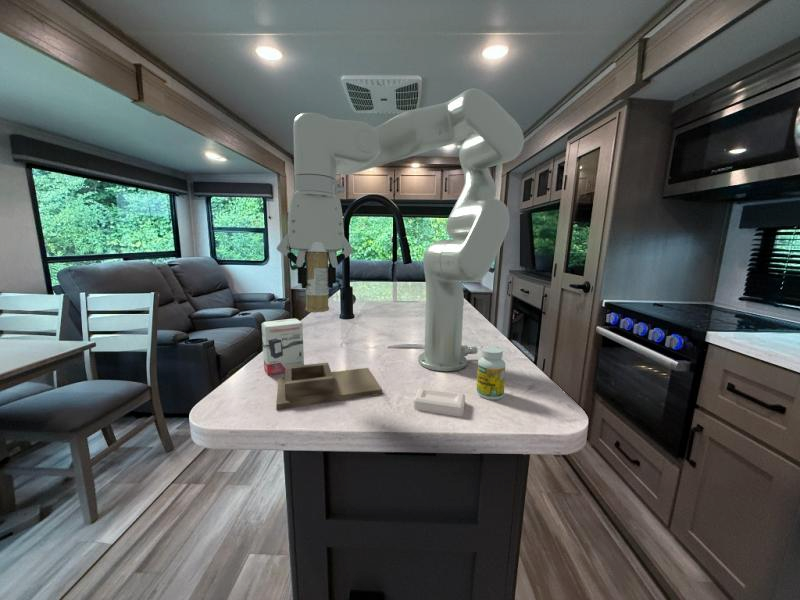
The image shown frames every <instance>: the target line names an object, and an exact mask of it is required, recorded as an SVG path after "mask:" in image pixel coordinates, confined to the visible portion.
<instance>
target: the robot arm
mask: <svg viewBox="0 0 800 600" xmlns="http://www.w3.org/2000/svg"><path fill="white" fill-rule="evenodd" d="M292 130H293V166H294V167H293V169H294V170H293V171H294V172H293V174H294V194H291V195H290V196H289V198H290V199H289V204H288V213H287V215H288V216H287V233H286V234H285V235H284V237H283V238H282V239H281V241H280V242H279V244H278V245H277V247H276V250H277V252H279V253H280V254H282V255H284V256H285V257H286V258H288V259H289V260H290V261H291V262H292V263H293V264H294V265H295V266H296V267H297V268H296V269H297V285H298V284H299V285H301V289H303V290H304V289H306V265H305V263H304V262H305V258H306V257H305V256H306V255H305V253H306V251H308V250H310V249H311V247H312V244H313V243H314V242H320V243H322V244H323V246H324V249H325V250H326V251H328V269H329V289H333V288H334V284H336V283H337V267H338V266H339V265H340V264H341V263H342V262H343V261H344V260H345V259H346V258H348V257H349V256H351V255H352V254H354V252H355V250H354V248H353V246H352V245H351V243H350V242H349V241H348V239H347V238H346V237H345V230H344V217H343V216H344V215H343V209H342V204H341V200H340V198H339V197H337V196H338V195H340V194H341V195H342V194H345V186H342V185H341V184H339V183H338V180H337V174H338V175H343V176H348V175H352V174H355V173H359V172H362V171H366V170H370V169H373V168H375V167H379V166H382V165H385V164H388V163H391V162H395V161H396V162H397V161H401V160H404V159H408V158H410V157H413V156H417V155H419V154H422V153H423V154H424V153H426V152H428V151H433V150H435V149H440V148H443V147H446V146H449V145H452V144H455V143H458V142H460V141H462V140H464V139H465V140H464V141H463V143H462V144H461V147H460V149H459V153H458V154H459V155H458V156H459V157H458V158H459V159H458V160H459V164H460V166H461V170H462V172H463V176H464V177H463V178H464V184H463V188H462V189H461V191H460V192H461V193H460V194H459V196H458V198H457V201H456V202H455V204H454V206H453V208H452V210H451V212H450V214H449V216H448V219H447V220H446V225H445V226H446V227H445V228H446V233H447V235H448V237H450V238H451V239H442V240H438V241H434V242H433V243H431V244H430V245H428V247H427V248H426V250H425V251H424V253H423V254H424V255H423V259H422V261H423V262H422V263H423V265H422V266H423V272H424V278H425V318H424V320H425V321H424V350H423V351H424V352H422V353H420V354H419V355H418V363H419V364H420V365H421V366H422V367H424V368H426V369H429V370H433V371H439V372H454V371H460V370H462V369H464V368H465V367H466V366H467V364H468V359H467V358H466V356H468V355H476V354H478V351H479V349H478V347H477V346H470V347H468V345H467V344H465V345H462V343H463V324H464V323H463V319H464V305H465V304H464V303H465V302H464V301H465V297H464V289H463V286H462V283H461V282H469V283H470V282H471V283H472V282H473V283H474V282H478V281H480V280H482V279H483V278H484V277H485V276H486V275H487V274H488V272H489V271H490V269H491V267H492V265H493V263H494V262H495V260H496V257H497V255H498V254H499V250H500V249H501V247H502V245H503V243H504V240H505V238H506V237H507V234H508V231H509V226H510V213H509V212H510V211H509V209H508V207H507V205H506V204H505V203H504V202H503V201H502V200H499V199H497V198H496V196H497V186H496V183H495V179H493V177H492V174H491V171H490V169H489V168H492V167H495V166H498V165H502V164H505V163H509V162H511V161H513V160H515V159H516V158H518V156H520V154H521V153H522V151H523V148H524V144H525V137H524V134H523V130H522V128H521V126H520V125H519V123H518V122H517V121H516V120H515V118H513V116H512V115H510V114H509V113H508V112H507V111H506V110H505V109H504V108H503V106H501V104H500V103H498V102H497V101H496V100H495V99H494V98H493V97H492V96H491V95H489V94H488V93H486V92H485V91H483V90H481V89H479V88H476V87H473V88H469V89H466V90H465V91H463V92H461V93H460V94H458V95H456V96H454V97H453V98H452V99H450V100H447V101H445V102H442V103H438V104H433V105H429V106H425V107H419V108H415V109H409V110H406V111H403V112H401V113H399V114H397V115H395V116H393V117H392V118H390V119H388V120H387V121H385V122H384V123H381V124H380V125H377V126H375V127H373V126H372V125H371V124H369V123H367V122H365V121H360V120H350V119H348V120H347V119H336V118H330V117H329V116H326V115H324V114H321V113H317V112H302V113H300V114H298V115H297V116H296V117H295V118H294V121H293V126H292ZM288 246H289V248H291V249H292V250H295V251H297V255H296V254H295V253H294V252H292V251H290V250H289V249H288ZM343 249H344V250H343ZM341 250H343V251H342V252H340V251H341ZM336 252H340V253H338V254H337V255H336Z"/></svg>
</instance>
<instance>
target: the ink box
mask: <svg viewBox="0 0 800 600" xmlns="http://www.w3.org/2000/svg"><path fill="white" fill-rule="evenodd" d="M303 327H304V326H303V322H302V321H300V320H299V319H298V318H287V319H279V320H278V319H277V320H270V321H264V322H262V323H261V335H262V336H261V338H262V353H263V354H262V355H263V368H264V371H265V373H266V375H267V376H272V375H276V374H281V373H285V367H290V366H300V365H305V359H304V358H305V355H304V354H305V353H304V331H303V330H304V329H303Z"/></svg>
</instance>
